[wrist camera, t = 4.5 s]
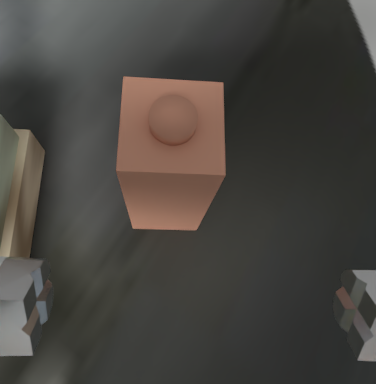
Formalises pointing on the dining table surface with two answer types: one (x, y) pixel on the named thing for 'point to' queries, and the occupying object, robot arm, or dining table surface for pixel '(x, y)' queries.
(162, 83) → the brick
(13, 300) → the robot arm
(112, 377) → the dining table surface
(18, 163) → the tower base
